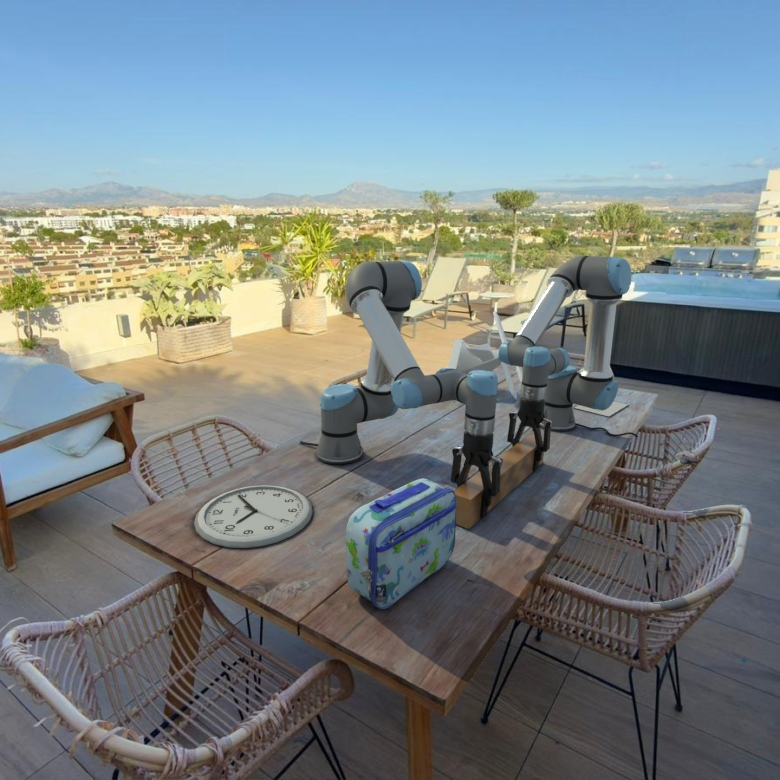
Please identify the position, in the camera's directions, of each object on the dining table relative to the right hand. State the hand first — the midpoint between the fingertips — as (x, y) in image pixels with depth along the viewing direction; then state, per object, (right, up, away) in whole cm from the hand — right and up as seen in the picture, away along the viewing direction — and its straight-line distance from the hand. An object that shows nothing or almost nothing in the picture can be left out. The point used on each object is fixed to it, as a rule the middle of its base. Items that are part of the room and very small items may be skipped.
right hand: (525, 466), depth 167 cm
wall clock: (-79, -8, -29) cm, 84 cm away
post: (-11, -5, -13) cm, 18 cm away
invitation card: (+48, +17, +60) cm, 79 cm away
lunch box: (-41, -17, -54) cm, 69 cm away
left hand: (-21, -8, -27) cm, 35 cm away
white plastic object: (-2, +23, +77) cm, 80 cm away
